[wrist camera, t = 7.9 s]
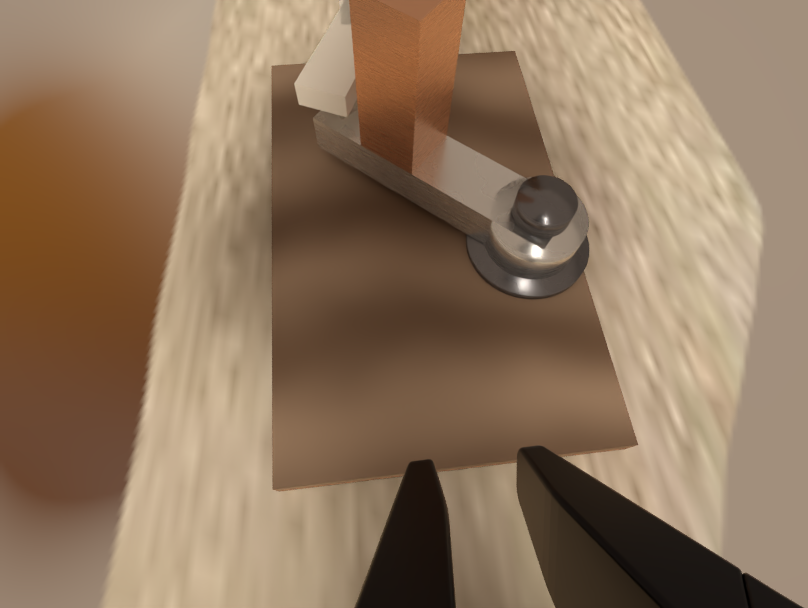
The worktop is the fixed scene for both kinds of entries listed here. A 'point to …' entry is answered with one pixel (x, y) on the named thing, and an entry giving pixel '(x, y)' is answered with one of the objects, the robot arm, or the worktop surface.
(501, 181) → the lever link
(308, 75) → the block
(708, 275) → the worktop surface
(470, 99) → the walnut board
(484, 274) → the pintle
